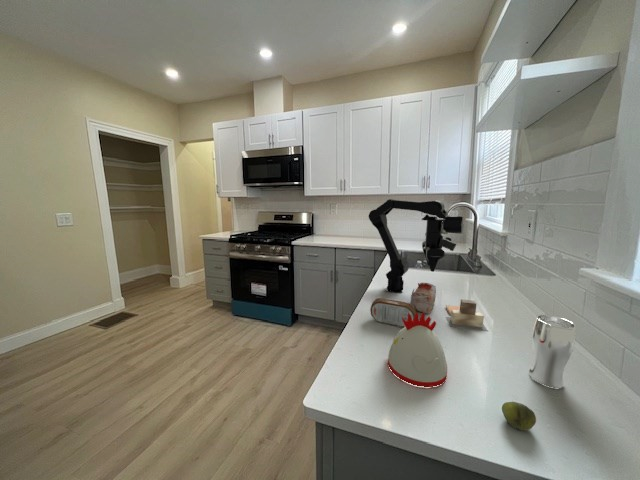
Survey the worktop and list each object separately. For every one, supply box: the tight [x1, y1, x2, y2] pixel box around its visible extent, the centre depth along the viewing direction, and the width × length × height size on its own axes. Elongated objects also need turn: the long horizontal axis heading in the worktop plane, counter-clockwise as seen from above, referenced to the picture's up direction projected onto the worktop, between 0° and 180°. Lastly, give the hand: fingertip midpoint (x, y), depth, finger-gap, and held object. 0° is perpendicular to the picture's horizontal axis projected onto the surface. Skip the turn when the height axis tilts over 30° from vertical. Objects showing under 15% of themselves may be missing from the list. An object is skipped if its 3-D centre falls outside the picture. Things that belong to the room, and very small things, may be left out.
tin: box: [369, 297, 417, 328], centre depth 84 cm, size 15×3×8 cm, turn 65°
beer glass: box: [528, 314, 577, 389], centre depth 57 cm, size 7×7×15 cm
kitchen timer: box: [387, 311, 448, 387], centre depth 62 cm, size 14×14×15 cm
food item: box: [410, 282, 437, 315], centre depth 96 cm, size 14×8×10 cm, turn 149°
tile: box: [445, 304, 460, 316], centre depth 92 cm, size 8×2×6 cm
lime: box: [501, 401, 537, 431], centre depth 46 cm, size 4×5×5 cm
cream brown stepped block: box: [450, 299, 485, 327], centre depth 83 cm, size 9×2×8 cm, turn 74°
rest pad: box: [445, 316, 489, 332], centre depth 84 cm, size 11×7×1 cm, turn 74°
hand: (430, 268), depth 104 cm, fingers open, 9 cm apart
